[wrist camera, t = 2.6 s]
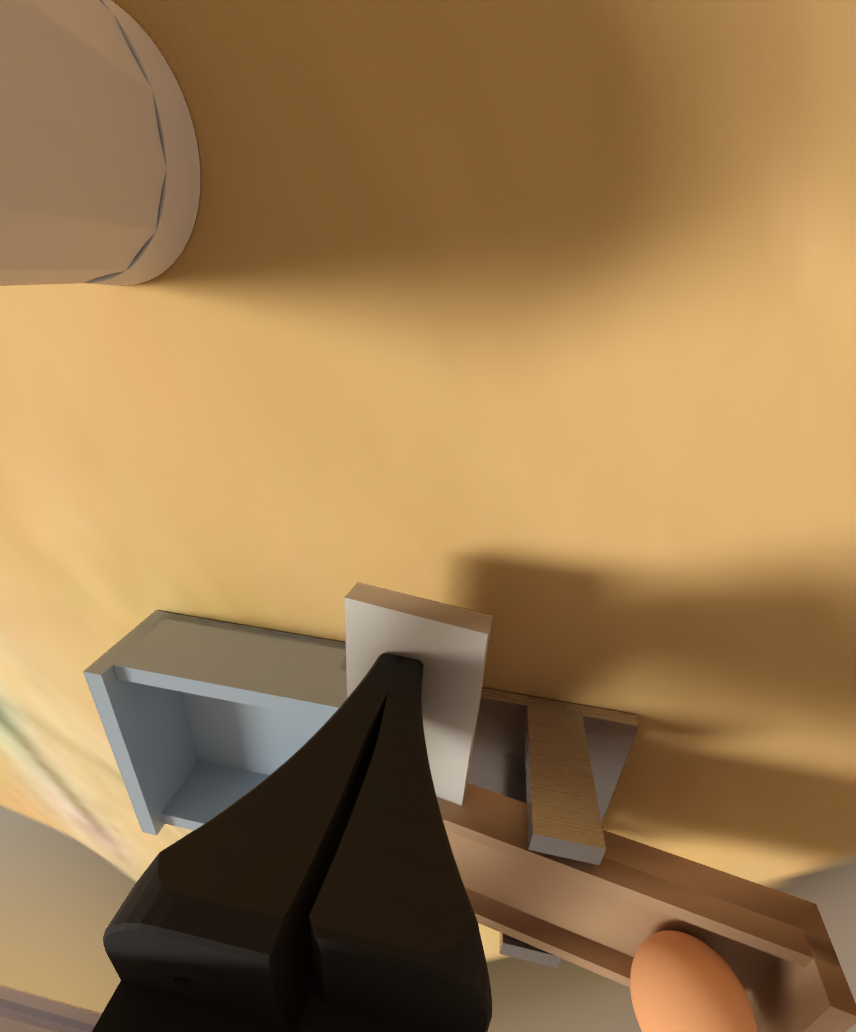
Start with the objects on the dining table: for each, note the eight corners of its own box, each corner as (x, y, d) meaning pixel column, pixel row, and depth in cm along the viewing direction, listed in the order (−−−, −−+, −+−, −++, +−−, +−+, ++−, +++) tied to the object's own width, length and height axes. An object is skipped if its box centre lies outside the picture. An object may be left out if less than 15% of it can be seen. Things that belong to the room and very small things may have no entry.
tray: (368, 646, 17) (337, 721, 14) (368, 796, 21) (343, 880, 18) (156, 610, 18) (83, 671, 15) (193, 759, 22) (142, 831, 19)
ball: (790, 987, 11) (760, 1115, 10) (747, 1033, 13) (713, 1154, 11) (670, 884, 13) (626, 974, 11) (644, 932, 15) (600, 1021, 13)
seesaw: (962, 730, 9) (1067, 844, 7) (746, 986, 15) (772, 1092, 13) (357, 582, 13) (315, 631, 11) (359, 830, 18) (332, 894, 16)
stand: (635, 714, 16) (682, 865, 12) (592, 829, 20) (616, 983, 15) (475, 686, 17) (462, 818, 13) (458, 801, 20) (443, 939, 16)
